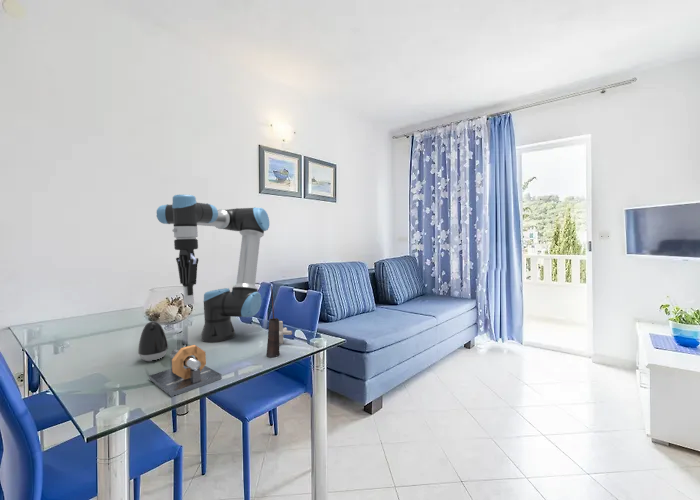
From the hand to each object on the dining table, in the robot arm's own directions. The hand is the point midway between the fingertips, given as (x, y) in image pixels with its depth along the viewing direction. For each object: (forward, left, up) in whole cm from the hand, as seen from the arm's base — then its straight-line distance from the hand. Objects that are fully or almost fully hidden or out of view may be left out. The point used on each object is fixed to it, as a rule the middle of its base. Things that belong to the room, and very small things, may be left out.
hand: (189, 303), depth 116 cm
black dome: (-24, -5, -25) cm, 34 cm away
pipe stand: (+6, -5, -24) cm, 26 cm away
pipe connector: (+2, +38, -25) cm, 46 cm away
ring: (+10, -5, -22) cm, 25 cm away
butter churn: (+12, +27, -25) cm, 39 cm away
